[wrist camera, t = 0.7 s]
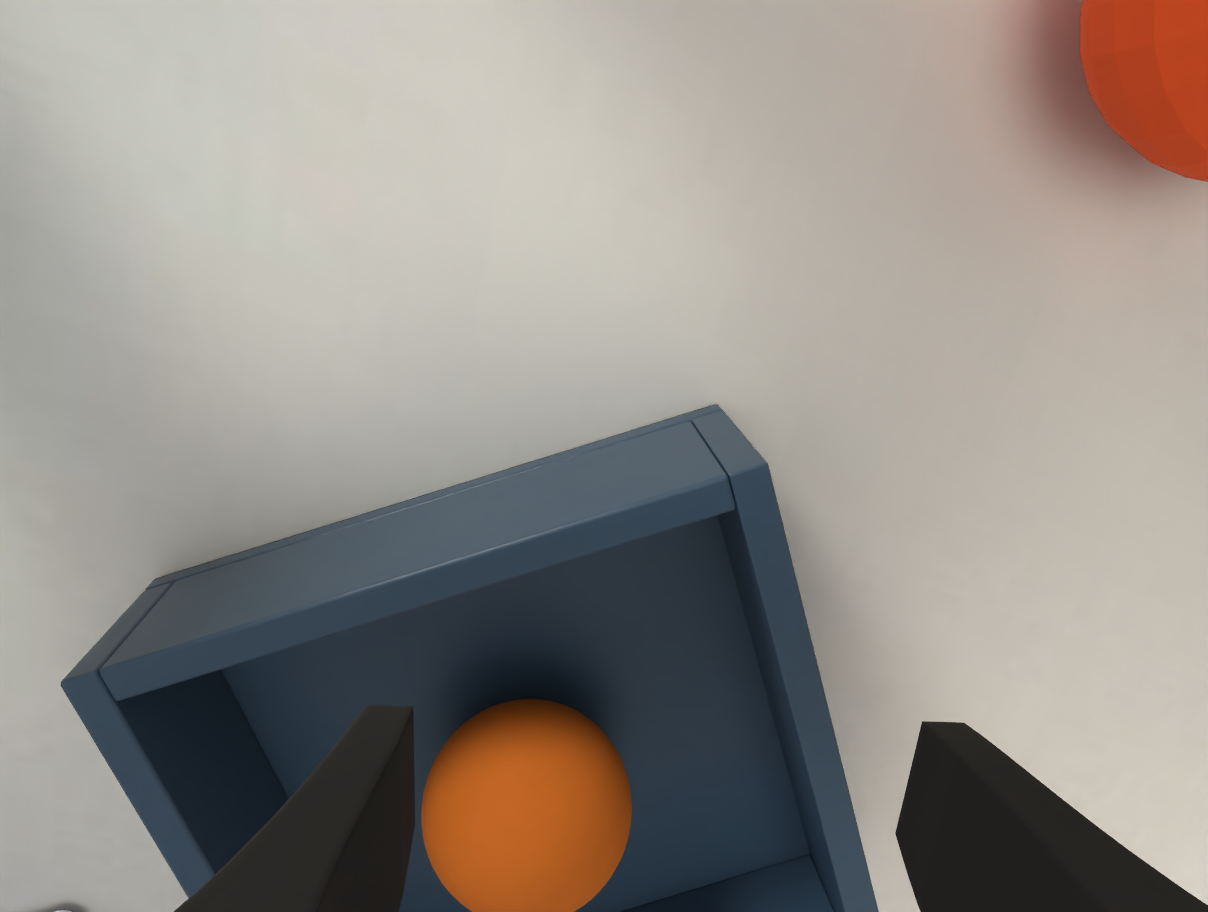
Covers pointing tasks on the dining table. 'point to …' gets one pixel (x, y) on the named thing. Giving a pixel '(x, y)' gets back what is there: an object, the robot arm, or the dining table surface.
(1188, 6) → the clementine
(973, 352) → the dining table surface
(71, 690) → the tray
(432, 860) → the ball
